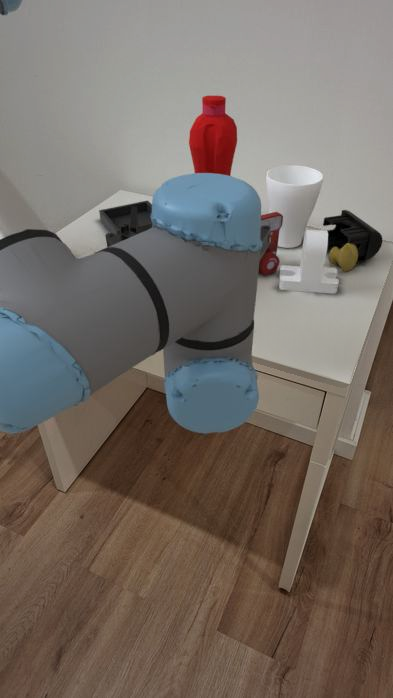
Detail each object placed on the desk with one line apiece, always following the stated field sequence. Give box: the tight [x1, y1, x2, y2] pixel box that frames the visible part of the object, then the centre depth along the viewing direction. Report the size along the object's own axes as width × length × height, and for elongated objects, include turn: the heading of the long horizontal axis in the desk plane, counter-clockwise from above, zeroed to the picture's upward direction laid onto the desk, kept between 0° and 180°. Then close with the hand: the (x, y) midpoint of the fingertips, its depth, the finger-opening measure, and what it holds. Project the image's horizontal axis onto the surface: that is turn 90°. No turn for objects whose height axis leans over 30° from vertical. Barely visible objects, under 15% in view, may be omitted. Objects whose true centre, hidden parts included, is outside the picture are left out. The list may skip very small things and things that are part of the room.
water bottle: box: [188, 94, 238, 176], centre depth 97 cm, size 9×11×25 cm
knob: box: [328, 243, 358, 272], centre depth 88 cm, size 5×5×5 cm
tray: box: [98, 200, 152, 235], centre depth 103 cm, size 11×11×2 cm
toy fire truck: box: [258, 212, 283, 276], centre depth 86 cm, size 7×12×10 cm, turn 114°
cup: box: [265, 164, 325, 249], centre depth 93 cm, size 10×10×14 cm
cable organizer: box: [278, 229, 340, 295], centre depth 82 cm, size 5×10×10 cm, turn 82°
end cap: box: [322, 209, 383, 266], centre depth 91 cm, size 10×7×7 cm
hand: (184, 213), depth 65 cm, fingers open, 13 cm apart
